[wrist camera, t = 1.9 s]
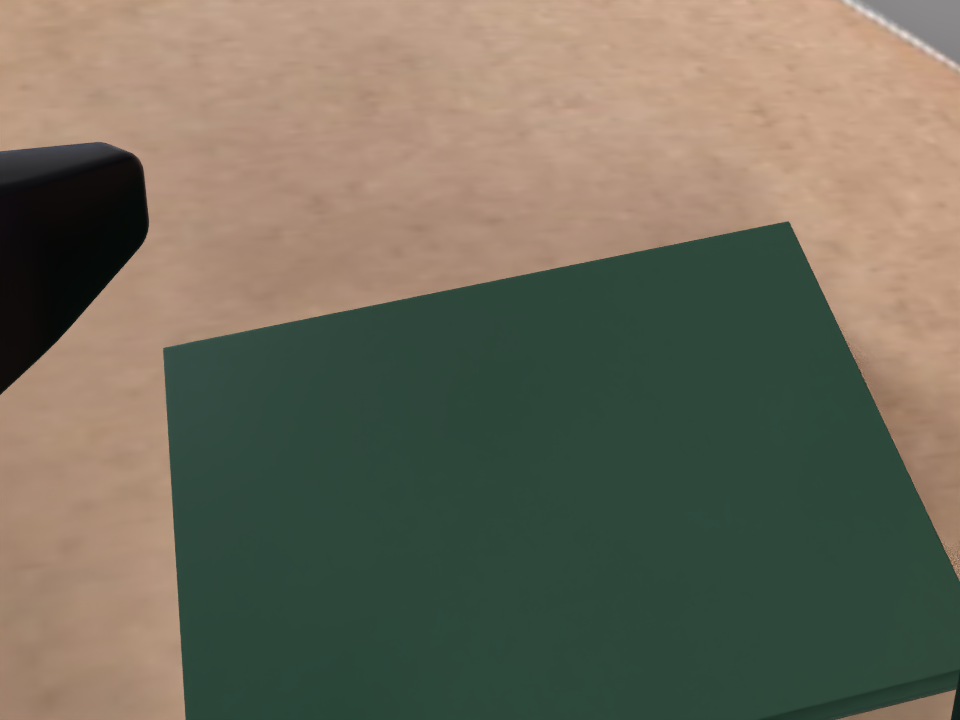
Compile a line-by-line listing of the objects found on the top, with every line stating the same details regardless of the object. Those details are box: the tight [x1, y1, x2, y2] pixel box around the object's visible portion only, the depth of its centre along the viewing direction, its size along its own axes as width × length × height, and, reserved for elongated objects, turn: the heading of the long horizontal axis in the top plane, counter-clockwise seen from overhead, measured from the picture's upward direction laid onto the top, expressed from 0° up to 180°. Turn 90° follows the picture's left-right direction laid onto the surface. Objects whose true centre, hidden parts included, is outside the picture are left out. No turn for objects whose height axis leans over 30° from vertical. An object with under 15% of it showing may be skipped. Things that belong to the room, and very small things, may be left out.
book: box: [163, 222, 960, 720], centre depth 22 cm, size 12×17×3 cm
